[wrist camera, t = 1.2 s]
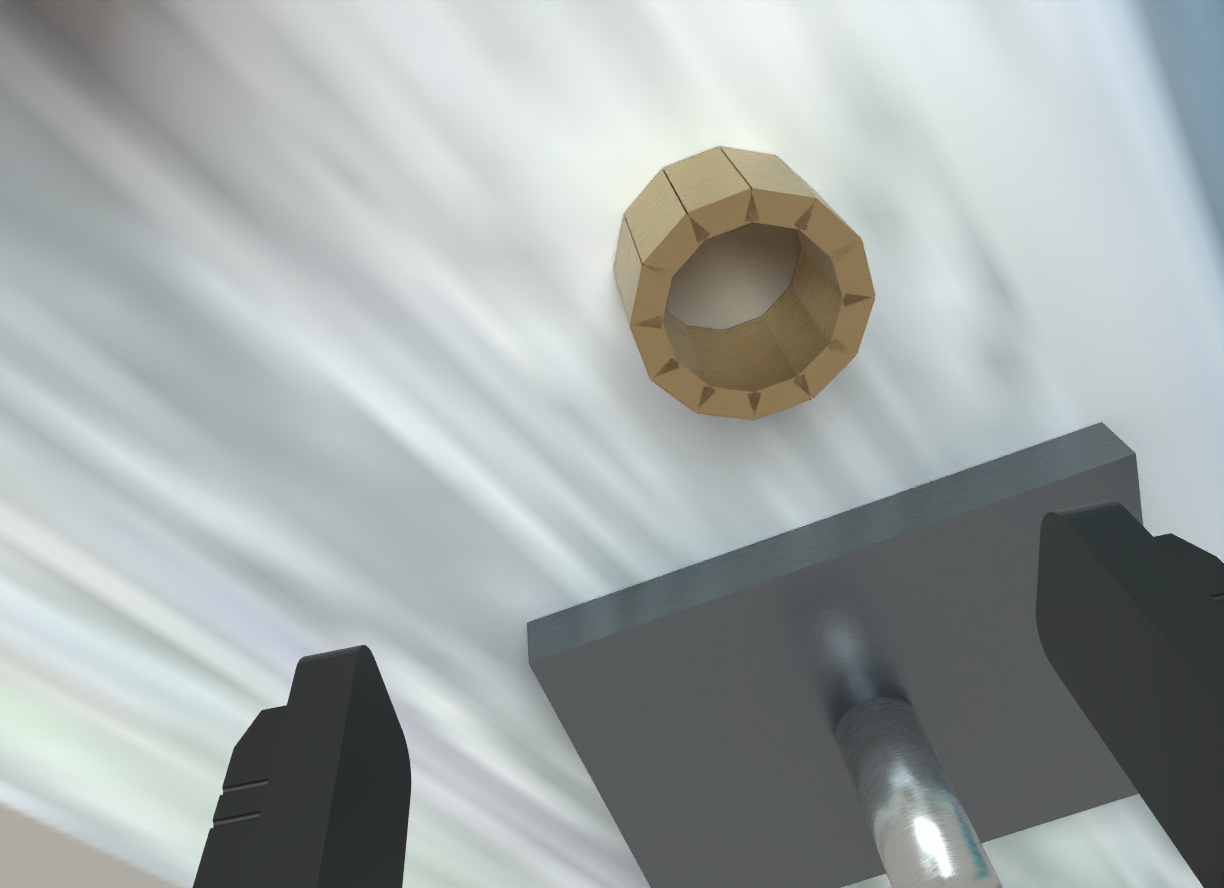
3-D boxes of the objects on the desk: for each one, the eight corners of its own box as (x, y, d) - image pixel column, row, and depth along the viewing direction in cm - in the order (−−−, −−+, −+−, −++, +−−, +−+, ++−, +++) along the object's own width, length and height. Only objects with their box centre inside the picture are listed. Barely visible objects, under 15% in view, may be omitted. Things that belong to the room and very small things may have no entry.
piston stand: (1102, 422, 33) (1289, 596, 25) (1140, 745, 41) (1291, 952, 33) (527, 623, 35) (536, 843, 27) (671, 894, 43) (710, 1125, 35)
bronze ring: (796, 115, 27) (841, 153, 24) (847, 311, 30) (892, 370, 27) (585, 197, 28) (599, 245, 24) (655, 381, 30) (676, 448, 27)
